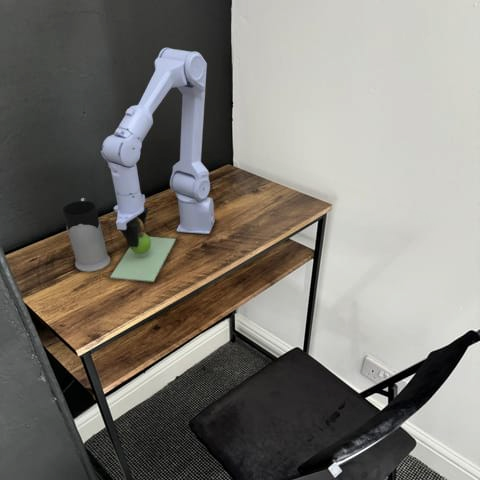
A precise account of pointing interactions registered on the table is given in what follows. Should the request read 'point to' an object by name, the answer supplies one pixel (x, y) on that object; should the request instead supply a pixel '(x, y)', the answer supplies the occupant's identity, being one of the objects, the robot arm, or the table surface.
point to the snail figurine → (141, 239)
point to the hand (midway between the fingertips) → (136, 241)
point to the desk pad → (144, 261)
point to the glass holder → (86, 235)
